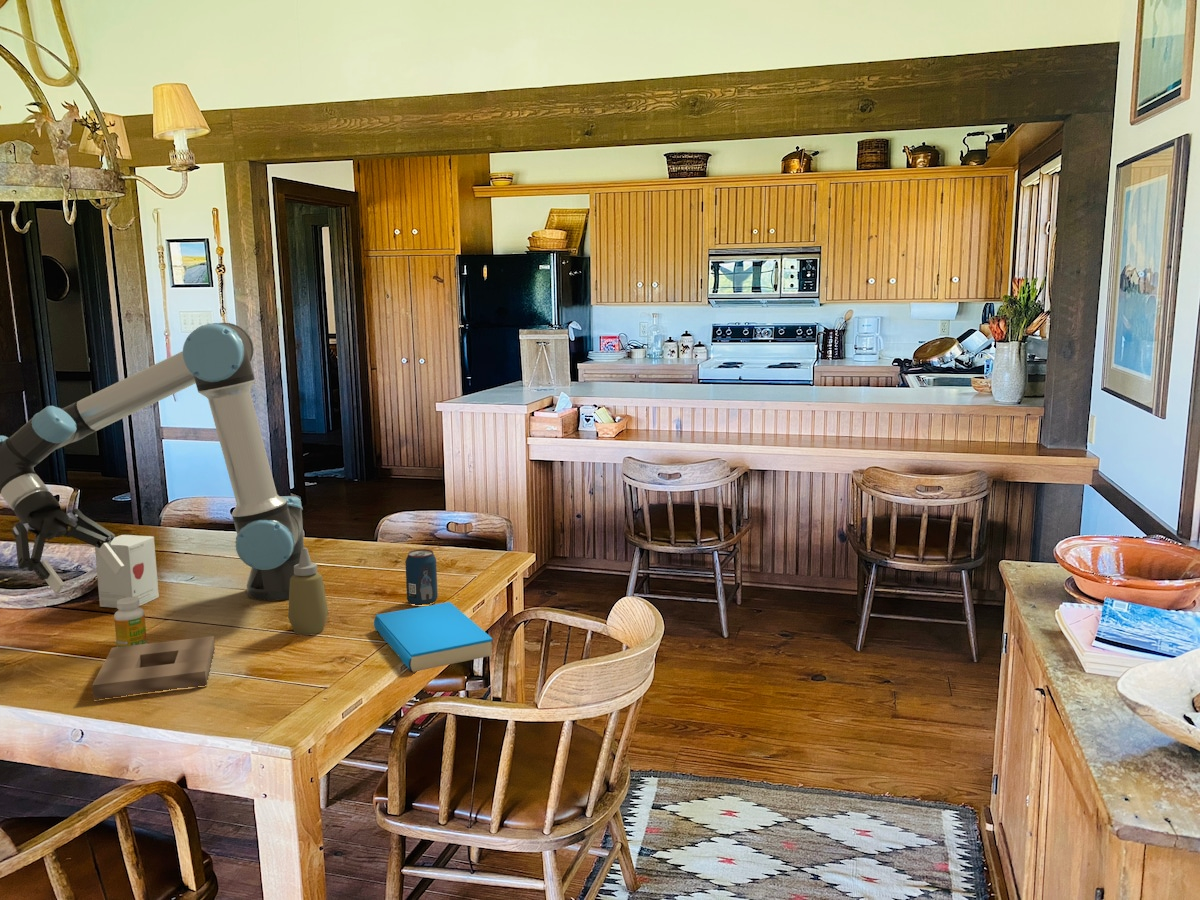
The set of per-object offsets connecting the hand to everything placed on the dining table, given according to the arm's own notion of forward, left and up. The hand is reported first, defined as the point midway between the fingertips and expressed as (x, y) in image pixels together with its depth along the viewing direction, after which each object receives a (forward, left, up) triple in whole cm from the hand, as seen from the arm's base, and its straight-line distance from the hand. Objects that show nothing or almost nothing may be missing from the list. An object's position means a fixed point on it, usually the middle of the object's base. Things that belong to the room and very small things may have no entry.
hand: (91, 579), depth 180 cm
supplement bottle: (-7, +6, -13) cm, 16 cm away
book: (-65, +24, -14) cm, 70 cm away
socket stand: (-14, +23, -13) cm, 30 cm away
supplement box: (-2, -24, -13) cm, 28 cm away
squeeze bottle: (-41, +9, -13) cm, 44 cm away
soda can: (-66, -1, -13) cm, 68 cm away
